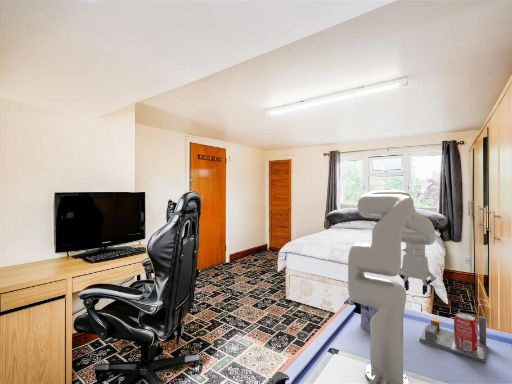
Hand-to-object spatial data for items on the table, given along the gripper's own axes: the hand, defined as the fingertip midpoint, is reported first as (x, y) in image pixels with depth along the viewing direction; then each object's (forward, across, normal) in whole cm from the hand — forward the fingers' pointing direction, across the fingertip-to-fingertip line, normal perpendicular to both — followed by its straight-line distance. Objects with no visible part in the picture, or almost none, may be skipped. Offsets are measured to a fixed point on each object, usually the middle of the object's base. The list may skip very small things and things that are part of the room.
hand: (415, 291), depth 119 cm
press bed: (+16, +14, -6) cm, 22 cm away
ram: (+14, +7, -6) cm, 17 cm away
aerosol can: (+16, -15, -15) cm, 26 cm away
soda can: (+14, +18, -10) cm, 25 cm away
